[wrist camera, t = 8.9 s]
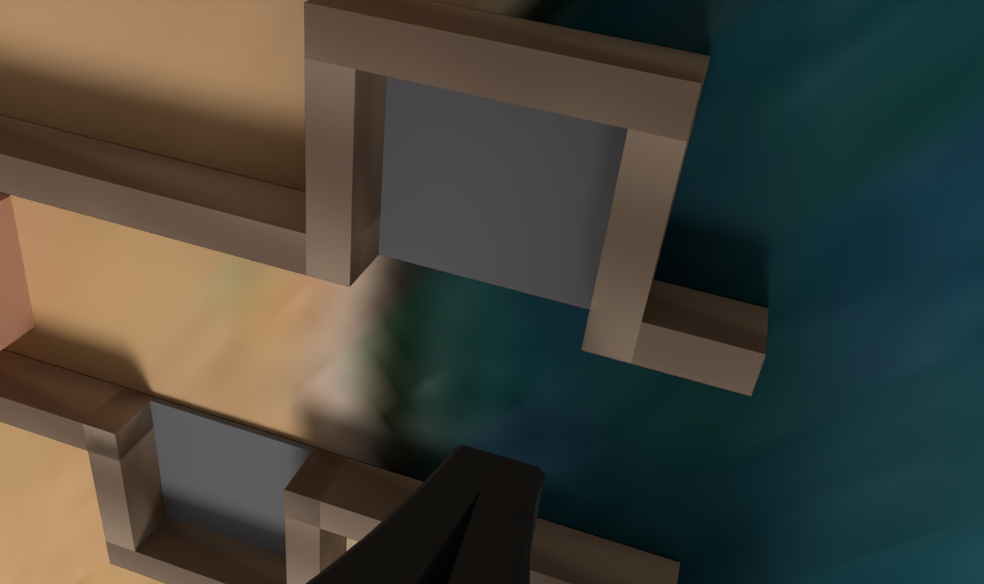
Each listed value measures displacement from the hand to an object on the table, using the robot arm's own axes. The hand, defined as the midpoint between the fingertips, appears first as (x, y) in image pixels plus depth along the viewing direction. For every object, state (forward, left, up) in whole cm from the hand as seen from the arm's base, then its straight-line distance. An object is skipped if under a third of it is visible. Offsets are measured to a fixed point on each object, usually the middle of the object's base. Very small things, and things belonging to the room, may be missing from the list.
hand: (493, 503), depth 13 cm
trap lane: (-6, +11, -9) cm, 16 cm away
